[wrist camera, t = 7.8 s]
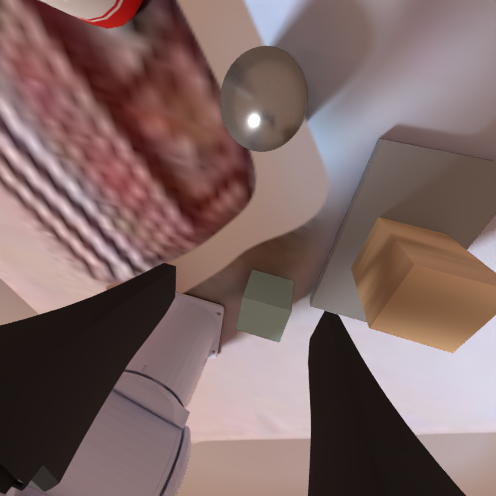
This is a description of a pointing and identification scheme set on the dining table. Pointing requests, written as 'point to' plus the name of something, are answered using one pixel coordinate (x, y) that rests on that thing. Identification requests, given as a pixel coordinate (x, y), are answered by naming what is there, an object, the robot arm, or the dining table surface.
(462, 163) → the slate board
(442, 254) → the oak block
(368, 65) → the dining table surface
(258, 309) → the olive green cube
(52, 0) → the beer can
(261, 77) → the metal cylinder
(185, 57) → the dining table surface
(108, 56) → the dining table surface
